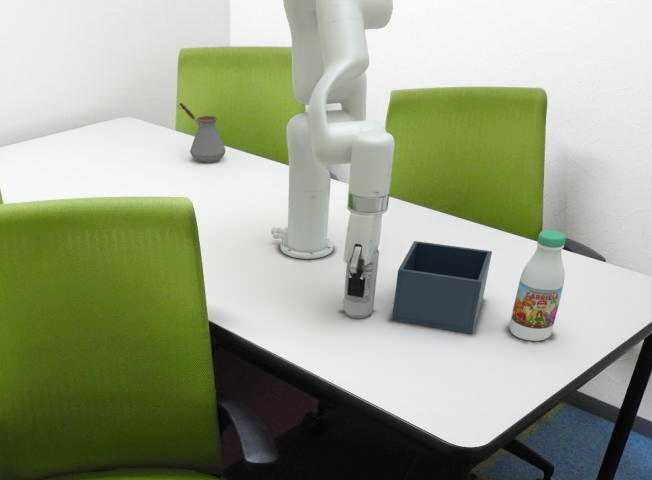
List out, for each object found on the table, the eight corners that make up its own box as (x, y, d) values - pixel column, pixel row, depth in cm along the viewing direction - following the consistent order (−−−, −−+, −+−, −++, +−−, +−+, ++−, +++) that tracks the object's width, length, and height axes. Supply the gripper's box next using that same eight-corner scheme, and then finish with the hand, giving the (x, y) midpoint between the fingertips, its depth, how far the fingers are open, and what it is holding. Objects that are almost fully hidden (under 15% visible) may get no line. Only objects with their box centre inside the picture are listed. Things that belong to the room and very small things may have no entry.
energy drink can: (377, 310, 156) (384, 241, 147) (365, 322, 151) (372, 252, 143) (350, 303, 158) (356, 235, 150) (337, 315, 154) (343, 245, 146)
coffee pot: (232, 160, 244) (232, 111, 235) (203, 167, 238) (201, 117, 230) (195, 146, 258) (194, 99, 250) (167, 152, 253) (164, 105, 244)
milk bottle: (502, 324, 150) (523, 227, 138) (540, 321, 150) (563, 225, 139) (518, 343, 143) (541, 243, 132) (557, 340, 144) (584, 241, 132)
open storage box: (391, 320, 152) (397, 269, 146) (407, 288, 164) (414, 240, 157) (471, 334, 146) (481, 282, 140) (482, 300, 158) (492, 251, 152)
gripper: (360, 184, 149) (352, 269, 160) (335, 214, 136) (329, 303, 146) (398, 189, 147) (388, 274, 157) (376, 219, 134) (367, 310, 144)
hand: (360, 287), depth 152 cm, fingers closed on energy drink can, 6 cm apart
